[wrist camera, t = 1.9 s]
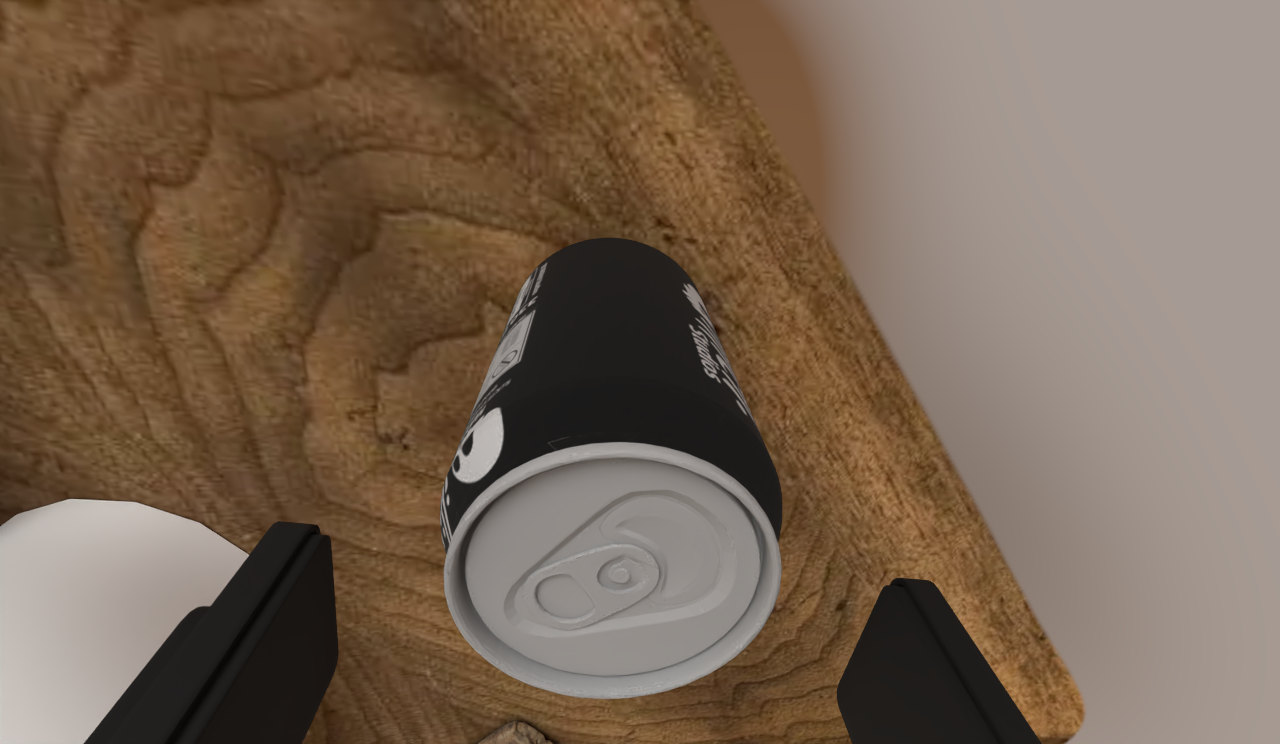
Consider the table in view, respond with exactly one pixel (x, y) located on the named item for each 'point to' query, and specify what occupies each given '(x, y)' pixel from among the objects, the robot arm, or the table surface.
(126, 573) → the vase
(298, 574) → the robot arm
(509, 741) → the pottery shard
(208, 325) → the table surface
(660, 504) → the beverage can
